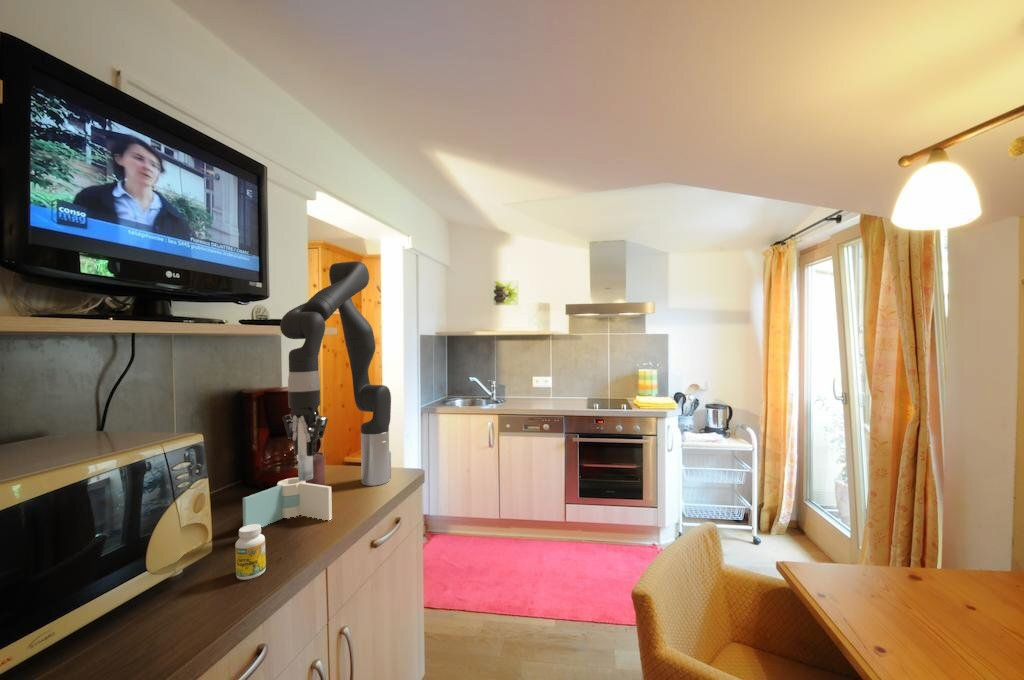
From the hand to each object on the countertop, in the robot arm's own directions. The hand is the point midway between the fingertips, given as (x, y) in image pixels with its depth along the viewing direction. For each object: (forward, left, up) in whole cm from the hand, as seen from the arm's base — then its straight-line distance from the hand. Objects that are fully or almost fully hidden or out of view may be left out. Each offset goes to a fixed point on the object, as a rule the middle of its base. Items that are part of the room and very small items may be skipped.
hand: (305, 454), depth 115 cm
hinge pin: (0, 0, -6) cm, 6 cm away
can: (-16, -14, -19) cm, 29 cm away
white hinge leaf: (-6, -7, -19) cm, 21 cm away
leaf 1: (0, -12, -19) cm, 22 cm away
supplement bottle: (+21, +8, -19) cm, 30 cm away
